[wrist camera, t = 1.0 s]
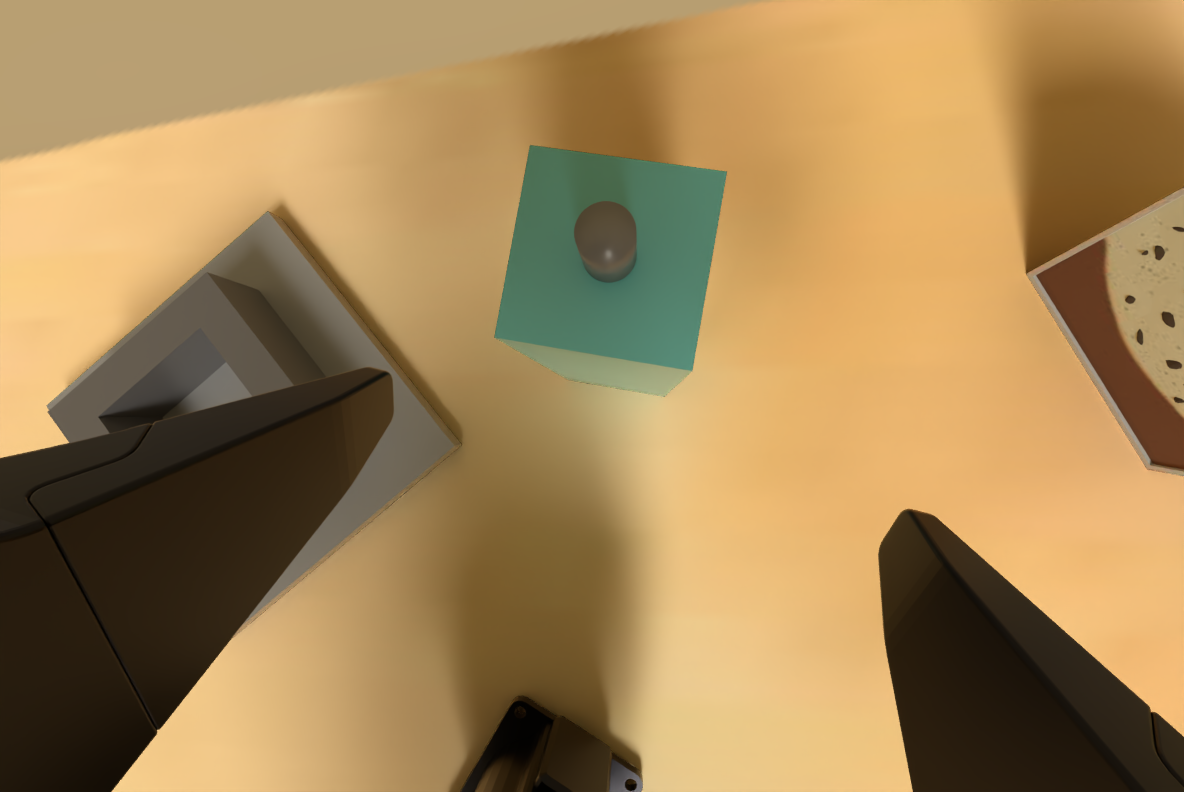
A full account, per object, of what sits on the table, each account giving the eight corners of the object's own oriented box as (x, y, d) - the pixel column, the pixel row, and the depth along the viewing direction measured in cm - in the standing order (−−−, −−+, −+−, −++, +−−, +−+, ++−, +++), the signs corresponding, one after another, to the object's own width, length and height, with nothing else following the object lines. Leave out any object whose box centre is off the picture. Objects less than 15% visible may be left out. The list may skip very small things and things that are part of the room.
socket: (461, 445, 25) (427, 449, 21) (234, 637, 25) (158, 677, 21) (281, 219, 26) (217, 182, 22) (68, 406, 26) (-33, 403, 22)
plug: (664, 396, 24) (700, 363, 10) (567, 379, 24) (473, 325, 11) (681, 299, 24) (739, 135, 10) (584, 284, 25) (514, 106, 11)
